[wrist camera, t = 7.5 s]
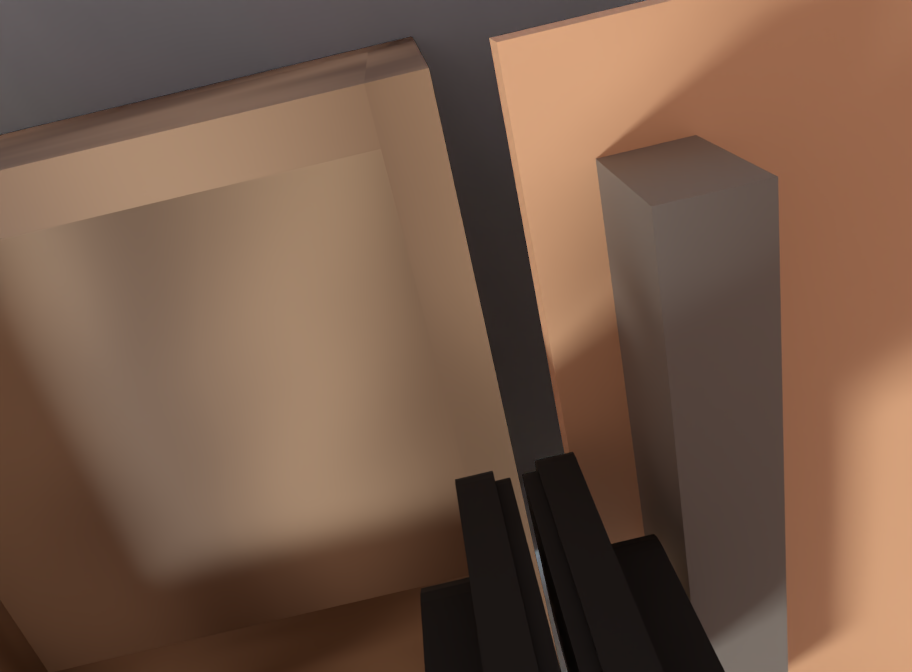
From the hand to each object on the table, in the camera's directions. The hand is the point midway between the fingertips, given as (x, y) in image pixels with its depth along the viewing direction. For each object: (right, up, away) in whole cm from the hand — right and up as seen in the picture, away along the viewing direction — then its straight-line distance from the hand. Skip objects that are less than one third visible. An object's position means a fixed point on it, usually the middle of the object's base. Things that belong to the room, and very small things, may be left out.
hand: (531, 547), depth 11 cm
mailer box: (-7, +1, +6) cm, 9 cm away
